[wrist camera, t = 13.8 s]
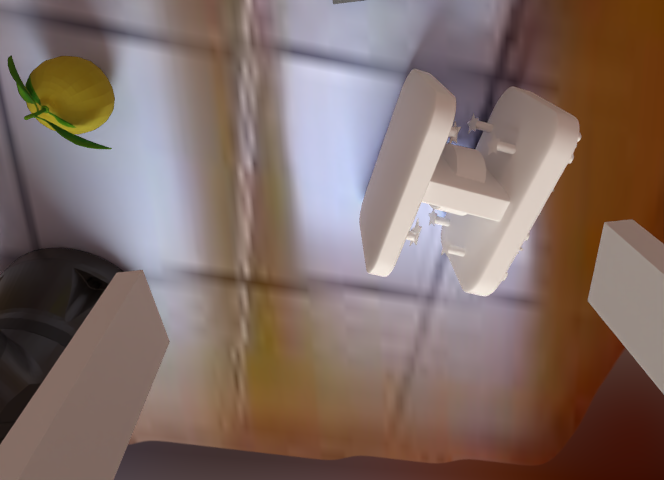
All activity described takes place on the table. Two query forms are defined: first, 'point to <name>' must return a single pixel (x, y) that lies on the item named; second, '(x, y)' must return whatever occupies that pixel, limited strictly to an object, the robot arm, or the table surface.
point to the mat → (344, 1)
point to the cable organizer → (464, 179)
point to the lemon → (67, 96)
